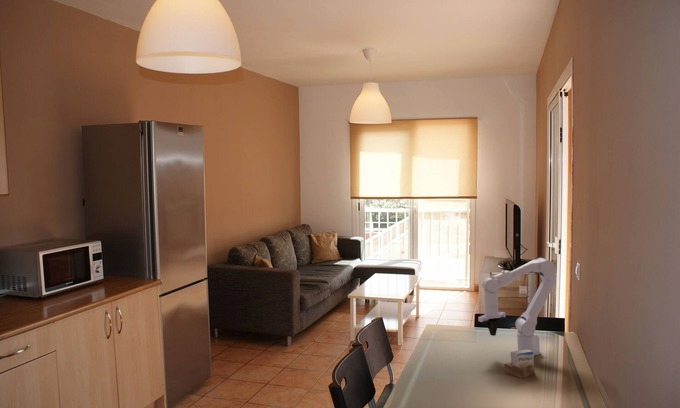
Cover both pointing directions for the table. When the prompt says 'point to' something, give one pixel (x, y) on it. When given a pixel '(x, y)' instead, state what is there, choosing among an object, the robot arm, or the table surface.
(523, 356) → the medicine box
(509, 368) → the open wooden box
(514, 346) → the table surface
